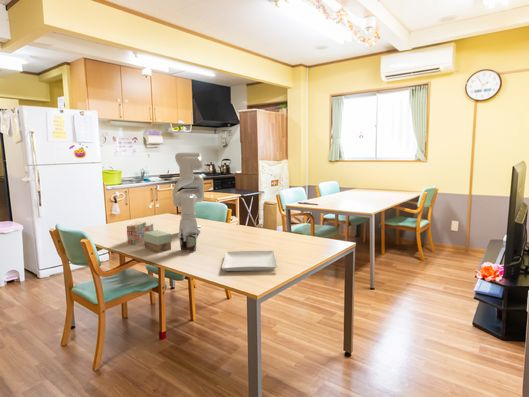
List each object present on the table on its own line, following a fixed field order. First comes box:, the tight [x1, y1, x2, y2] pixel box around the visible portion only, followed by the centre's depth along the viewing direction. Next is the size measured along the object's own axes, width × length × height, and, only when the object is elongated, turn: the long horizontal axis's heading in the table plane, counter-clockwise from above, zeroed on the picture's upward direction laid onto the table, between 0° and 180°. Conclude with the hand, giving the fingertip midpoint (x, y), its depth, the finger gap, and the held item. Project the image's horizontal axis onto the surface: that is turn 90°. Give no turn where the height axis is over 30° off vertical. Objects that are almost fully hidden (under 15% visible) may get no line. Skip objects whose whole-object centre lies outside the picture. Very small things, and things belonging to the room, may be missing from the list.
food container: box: [179, 234, 199, 253], centre depth 201 cm, size 12×6×10 cm, turn 67°
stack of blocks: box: [126, 221, 155, 246], centre depth 223 cm, size 21×6×12 cm, turn 168°
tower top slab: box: [144, 229, 172, 245], centre depth 203 cm, size 9×15×5 cm, turn 50°
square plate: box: [221, 250, 278, 272], centre depth 175 cm, size 27×27×4 cm
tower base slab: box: [143, 241, 172, 254], centre depth 204 cm, size 9×15×5 cm, turn 47°
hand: (189, 246), depth 201 cm, fingers closed on food container, 6 cm apart
